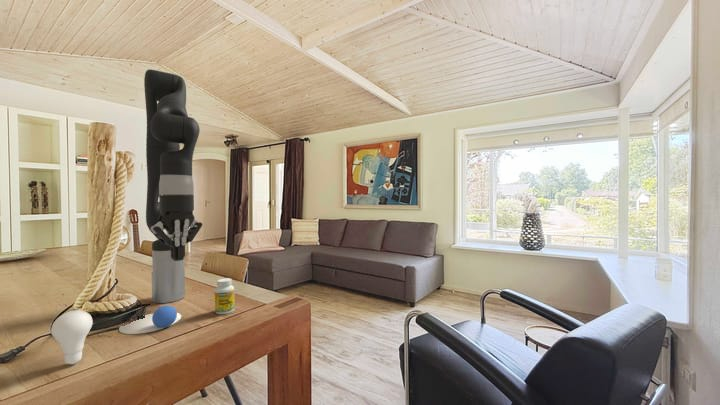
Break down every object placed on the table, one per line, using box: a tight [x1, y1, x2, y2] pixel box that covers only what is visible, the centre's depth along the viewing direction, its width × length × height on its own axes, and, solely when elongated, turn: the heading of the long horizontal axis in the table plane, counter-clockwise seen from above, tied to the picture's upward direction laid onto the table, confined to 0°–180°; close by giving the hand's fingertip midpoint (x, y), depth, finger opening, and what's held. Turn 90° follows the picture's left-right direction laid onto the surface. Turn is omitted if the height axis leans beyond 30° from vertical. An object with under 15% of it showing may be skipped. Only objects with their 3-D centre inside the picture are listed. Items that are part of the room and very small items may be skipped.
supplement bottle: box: [214, 277, 236, 315], centre depth 88 cm, size 5×5×10 cm
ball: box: [152, 305, 178, 329], centre depth 78 cm, size 6×6×6 cm
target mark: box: [118, 312, 182, 335], centre depth 81 cm, size 14×14×1 cm
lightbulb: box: [50, 309, 94, 366], centre depth 60 cm, size 6×6×11 cm
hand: (178, 260), depth 75 cm, fingers closed
